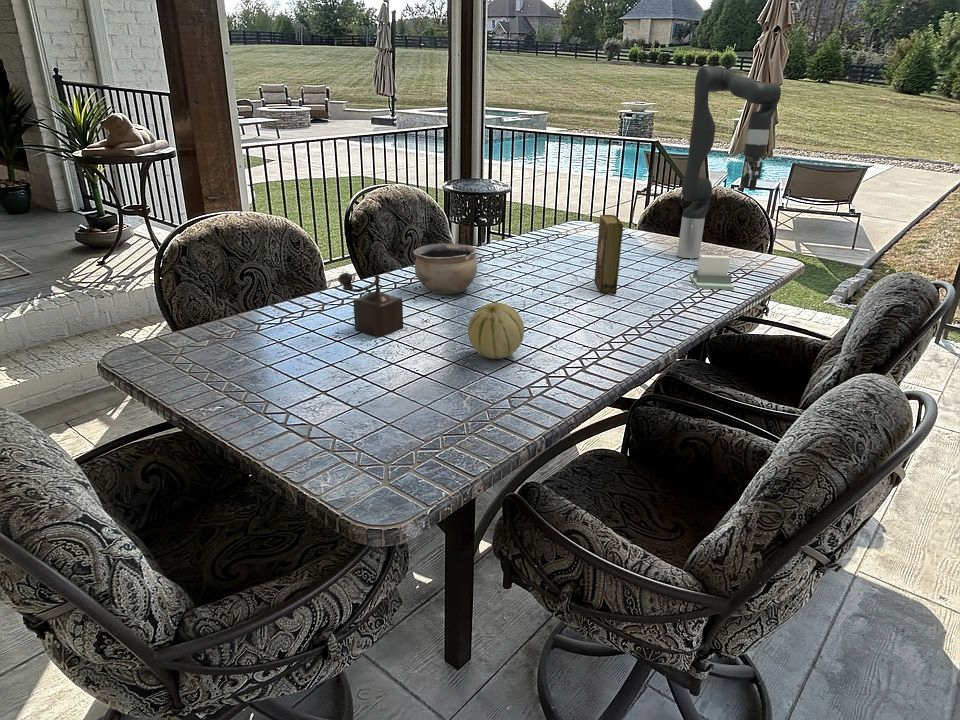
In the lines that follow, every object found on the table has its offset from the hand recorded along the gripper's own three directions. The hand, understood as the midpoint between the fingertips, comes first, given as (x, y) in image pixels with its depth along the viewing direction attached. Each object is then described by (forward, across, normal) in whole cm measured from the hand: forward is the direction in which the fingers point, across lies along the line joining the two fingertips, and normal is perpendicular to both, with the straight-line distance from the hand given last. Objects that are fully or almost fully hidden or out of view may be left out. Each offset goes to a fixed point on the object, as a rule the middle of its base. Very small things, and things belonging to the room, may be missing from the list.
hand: (748, 188), depth 237 cm
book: (+33, +27, -52) cm, 67 cm away
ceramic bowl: (+33, +39, -108) cm, 120 cm away
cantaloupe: (+33, +96, -86) cm, 133 cm away
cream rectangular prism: (+32, +15, -12) cm, 37 cm away
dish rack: (+33, +15, -12) cm, 38 cm away
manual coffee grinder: (+33, +82, -123) cm, 152 cm away
